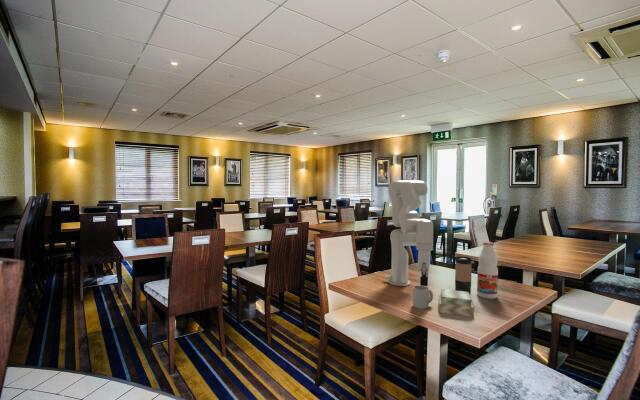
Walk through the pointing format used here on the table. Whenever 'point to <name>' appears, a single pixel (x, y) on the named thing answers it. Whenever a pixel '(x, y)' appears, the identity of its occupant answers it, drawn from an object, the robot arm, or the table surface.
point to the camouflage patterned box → (455, 303)
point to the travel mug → (463, 274)
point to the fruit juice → (487, 272)
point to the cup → (422, 297)
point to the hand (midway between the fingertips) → (424, 283)
